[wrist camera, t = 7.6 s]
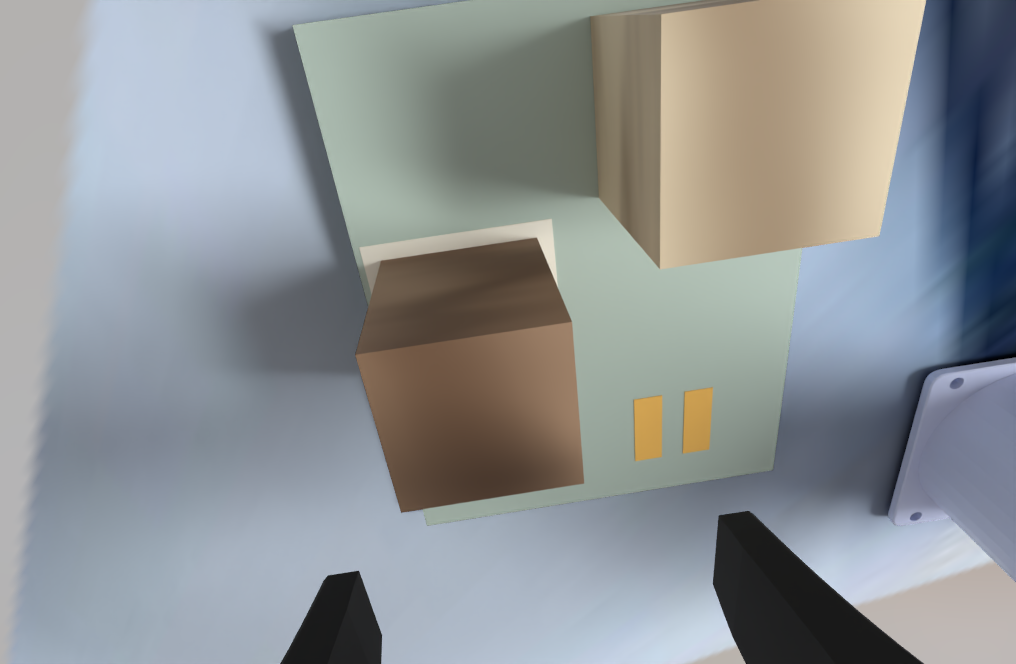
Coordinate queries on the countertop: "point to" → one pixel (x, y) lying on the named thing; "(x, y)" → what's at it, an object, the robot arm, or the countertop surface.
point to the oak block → (750, 122)
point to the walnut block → (472, 375)
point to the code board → (550, 231)
